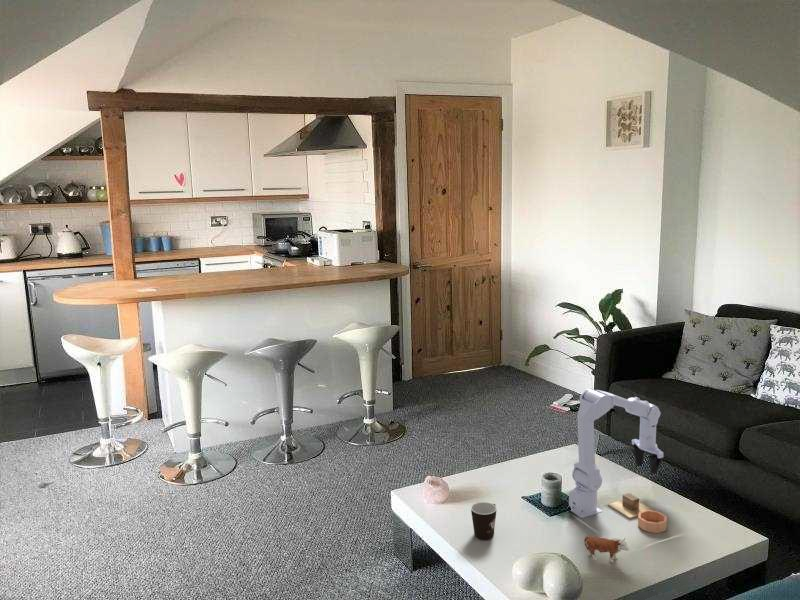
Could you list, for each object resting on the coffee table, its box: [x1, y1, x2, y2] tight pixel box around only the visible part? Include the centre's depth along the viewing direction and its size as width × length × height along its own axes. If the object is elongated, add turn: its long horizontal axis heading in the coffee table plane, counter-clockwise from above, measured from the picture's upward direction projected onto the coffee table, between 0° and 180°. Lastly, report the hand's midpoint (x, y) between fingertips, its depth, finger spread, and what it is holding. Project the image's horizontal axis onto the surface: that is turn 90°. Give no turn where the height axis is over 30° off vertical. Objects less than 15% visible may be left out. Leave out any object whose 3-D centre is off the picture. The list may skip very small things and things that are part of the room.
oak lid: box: [607, 493, 655, 519], centre depth 241 cm, size 11×11×5 cm
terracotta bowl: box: [637, 509, 668, 534], centre depth 229 cm, size 9×9×4 cm
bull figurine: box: [583, 535, 630, 564], centre depth 211 cm, size 4×13×8 cm, turn 66°
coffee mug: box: [470, 501, 498, 541], centre depth 228 cm, size 12×9×10 cm
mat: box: [603, 503, 638, 522], centre depth 242 cm, size 13×13×1 cm
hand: (646, 469), depth 251 cm, fingers open, 7 cm apart
